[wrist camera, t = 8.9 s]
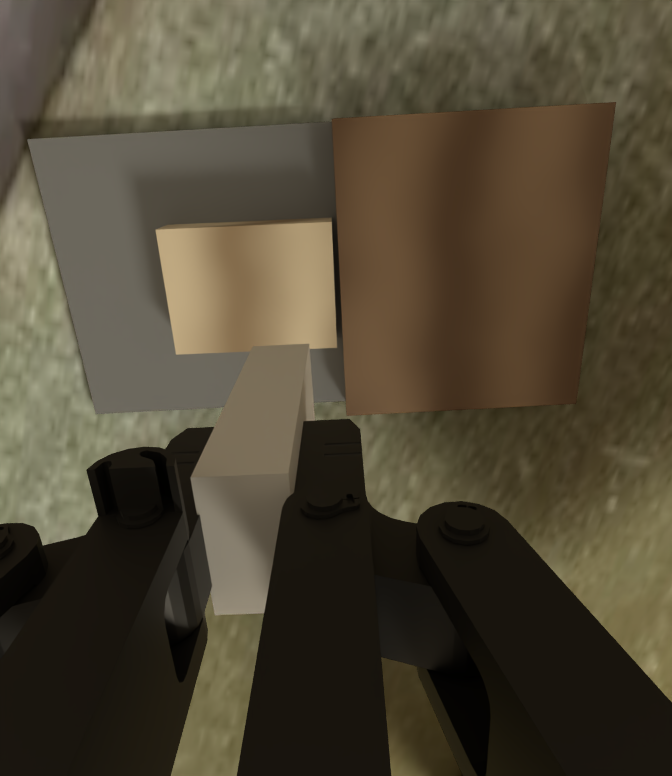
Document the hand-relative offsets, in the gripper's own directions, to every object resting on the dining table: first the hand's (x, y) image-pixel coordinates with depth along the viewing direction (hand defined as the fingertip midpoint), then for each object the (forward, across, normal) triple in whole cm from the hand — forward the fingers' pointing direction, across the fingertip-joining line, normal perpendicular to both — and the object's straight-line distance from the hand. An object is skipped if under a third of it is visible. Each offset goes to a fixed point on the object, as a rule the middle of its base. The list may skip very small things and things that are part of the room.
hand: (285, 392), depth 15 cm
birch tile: (+14, +3, 0) cm, 14 cm away
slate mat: (+15, +6, -1) cm, 16 cm away
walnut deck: (+15, -8, -1) cm, 17 cm away
